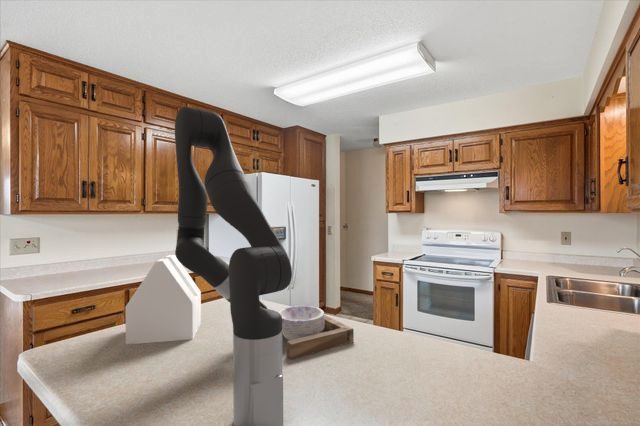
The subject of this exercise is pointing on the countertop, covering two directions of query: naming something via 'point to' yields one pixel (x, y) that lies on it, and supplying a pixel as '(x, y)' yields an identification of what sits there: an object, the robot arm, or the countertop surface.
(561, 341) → the countertop surface
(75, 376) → the countertop surface
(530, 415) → the countertop surface
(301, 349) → the walnut bay
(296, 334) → the paper bowls
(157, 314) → the white house shaped block
